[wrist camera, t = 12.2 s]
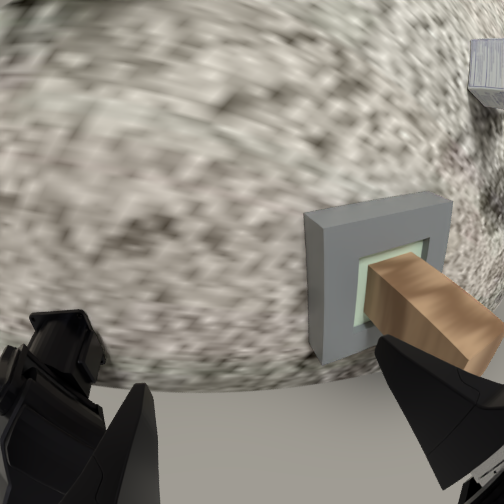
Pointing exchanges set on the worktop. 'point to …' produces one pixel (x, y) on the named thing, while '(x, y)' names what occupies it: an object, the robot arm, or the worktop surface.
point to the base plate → (364, 262)
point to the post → (431, 312)
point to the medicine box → (487, 71)
